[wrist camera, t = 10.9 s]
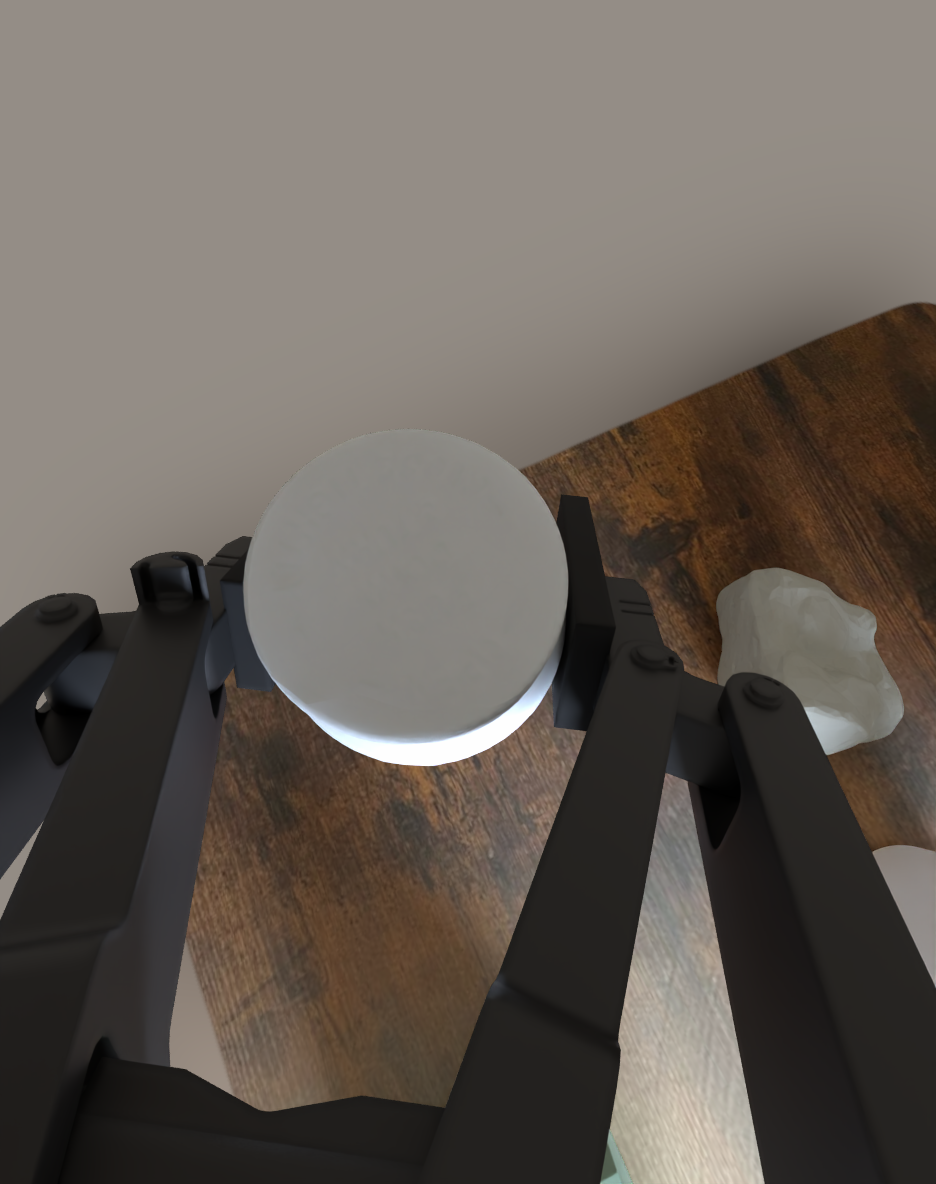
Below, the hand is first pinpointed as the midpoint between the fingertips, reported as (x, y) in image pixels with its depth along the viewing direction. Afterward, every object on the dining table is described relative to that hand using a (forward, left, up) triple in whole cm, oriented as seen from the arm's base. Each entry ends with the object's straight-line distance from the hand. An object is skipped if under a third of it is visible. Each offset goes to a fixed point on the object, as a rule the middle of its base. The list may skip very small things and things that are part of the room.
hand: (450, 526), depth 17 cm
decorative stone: (+19, +6, -21) cm, 29 cm away
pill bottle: (+1, -3, -4) cm, 5 cm away
